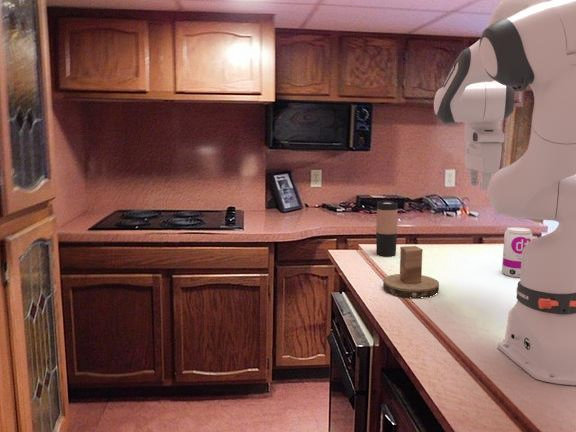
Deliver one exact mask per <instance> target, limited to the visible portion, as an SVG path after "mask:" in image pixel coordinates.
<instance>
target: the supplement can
mask: <svg viewBox="0 0 576 432" xmlns="http://www.w3.org/2000/svg"><path fill="white" fill-rule="evenodd" d="M503 236H504V237H503V249H502V250H503V251H502V265H501V272H502V273H503V274H504V276H507V275H508V276H507V277H510V276H511V278H518V279H520V275H521V262H522V251H523V249H524V247H525V246H526V244H527V243H529V242H530V241H532V240H533V236H534V235H533V233H532V230H531V228H529V227H527V228H526V227H522V226H521V227H519V226H510V227H506V230H505V231H504V235H503Z"/></svg>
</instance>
